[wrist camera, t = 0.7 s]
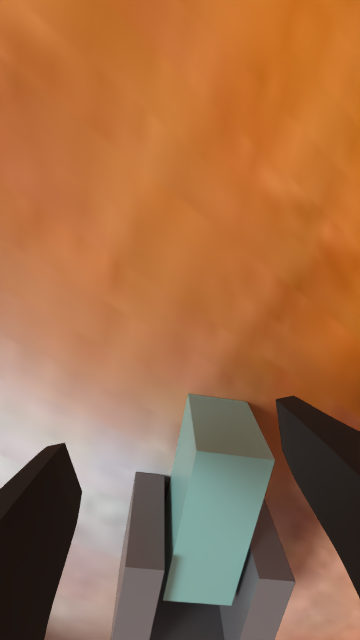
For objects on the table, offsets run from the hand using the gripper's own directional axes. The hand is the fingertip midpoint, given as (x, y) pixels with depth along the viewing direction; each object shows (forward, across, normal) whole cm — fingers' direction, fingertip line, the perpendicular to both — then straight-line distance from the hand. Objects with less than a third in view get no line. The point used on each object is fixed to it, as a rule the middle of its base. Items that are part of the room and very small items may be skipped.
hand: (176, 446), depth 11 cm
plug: (+10, 0, +9) cm, 13 cm away
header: (+10, +2, +14) cm, 17 cm away
